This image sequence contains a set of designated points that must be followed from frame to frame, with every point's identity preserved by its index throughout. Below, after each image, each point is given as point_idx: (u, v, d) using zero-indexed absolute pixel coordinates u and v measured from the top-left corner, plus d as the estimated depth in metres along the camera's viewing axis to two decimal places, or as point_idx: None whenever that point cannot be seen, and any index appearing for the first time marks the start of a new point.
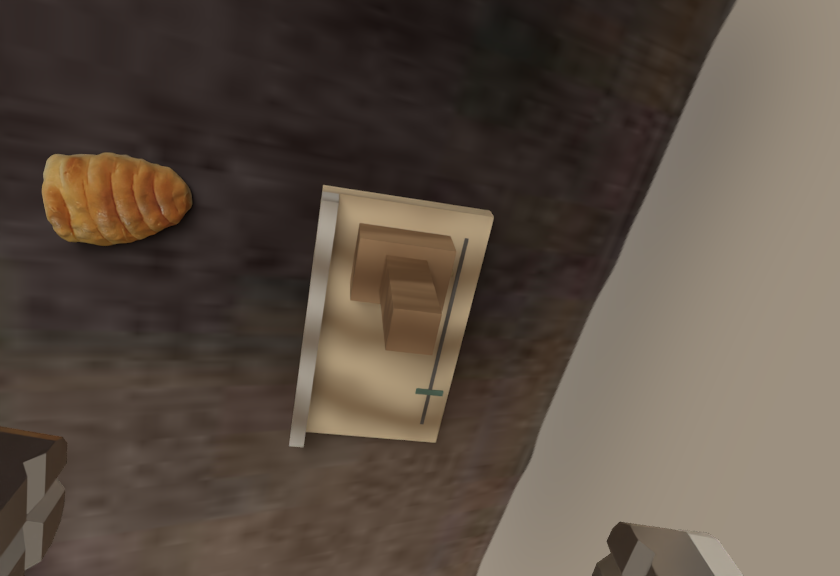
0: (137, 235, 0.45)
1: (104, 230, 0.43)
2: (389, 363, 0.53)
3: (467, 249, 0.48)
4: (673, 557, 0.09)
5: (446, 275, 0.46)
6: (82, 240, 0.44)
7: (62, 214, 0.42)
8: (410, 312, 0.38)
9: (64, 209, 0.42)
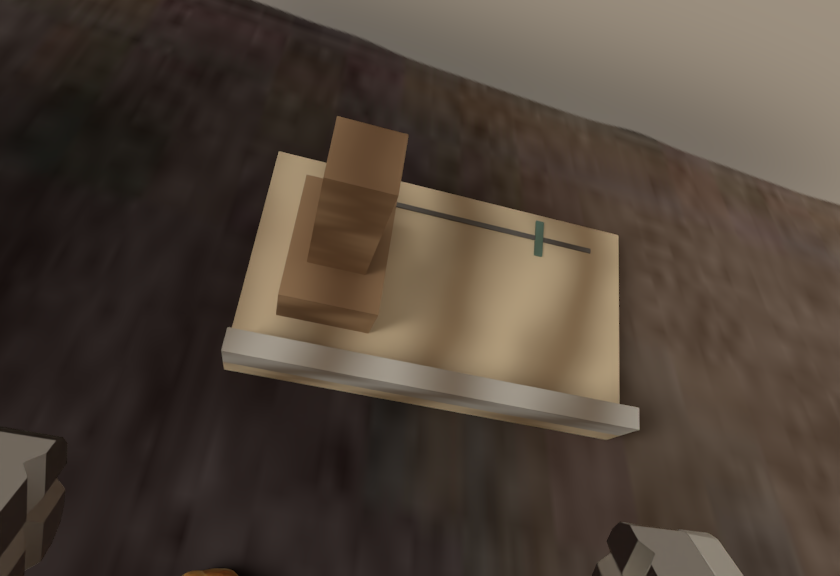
0: None
1: None
2: (496, 288, 0.37)
3: None
4: (673, 557, 0.09)
5: None
6: None
7: None
8: (331, 156, 0.25)
9: None
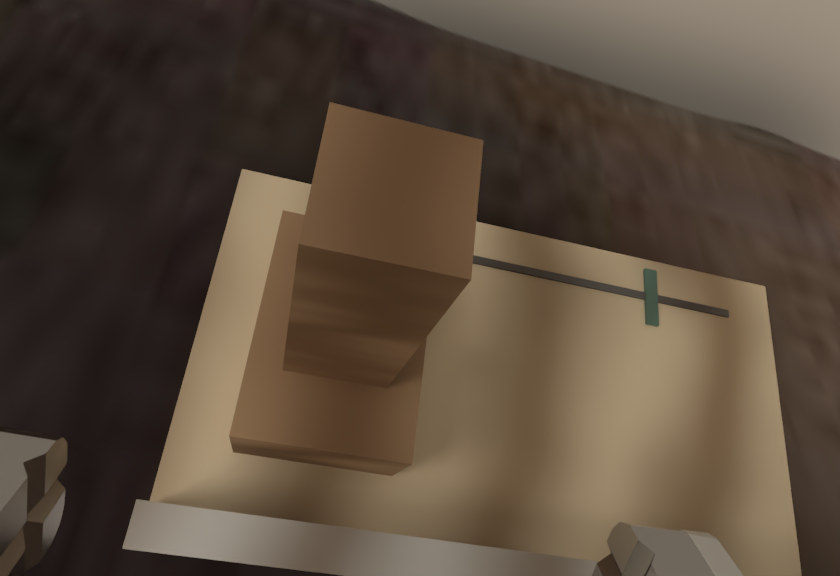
0: None
1: None
2: (593, 382, 0.23)
3: None
4: (673, 557, 0.09)
5: None
6: None
7: None
8: (316, 192, 0.11)
9: None
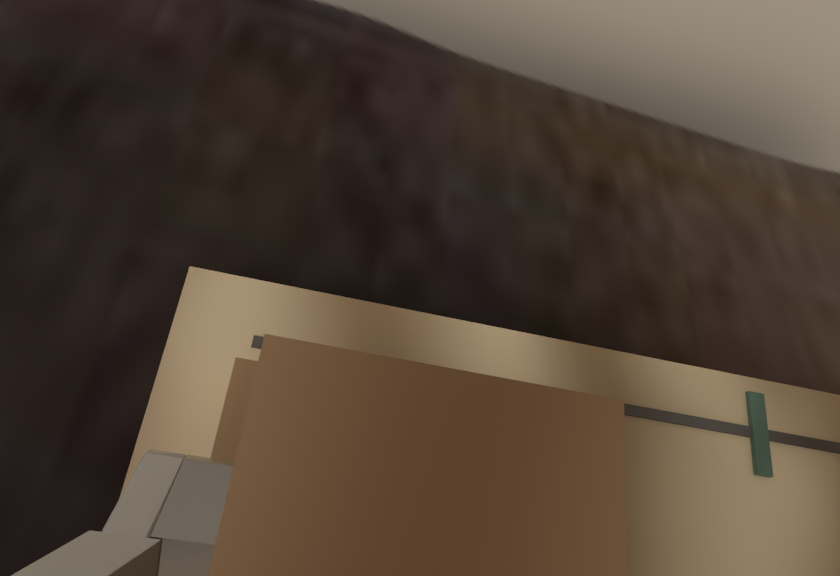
0: None
1: None
2: (689, 571, 0.16)
3: None
4: None
5: None
6: None
7: None
8: None
9: None
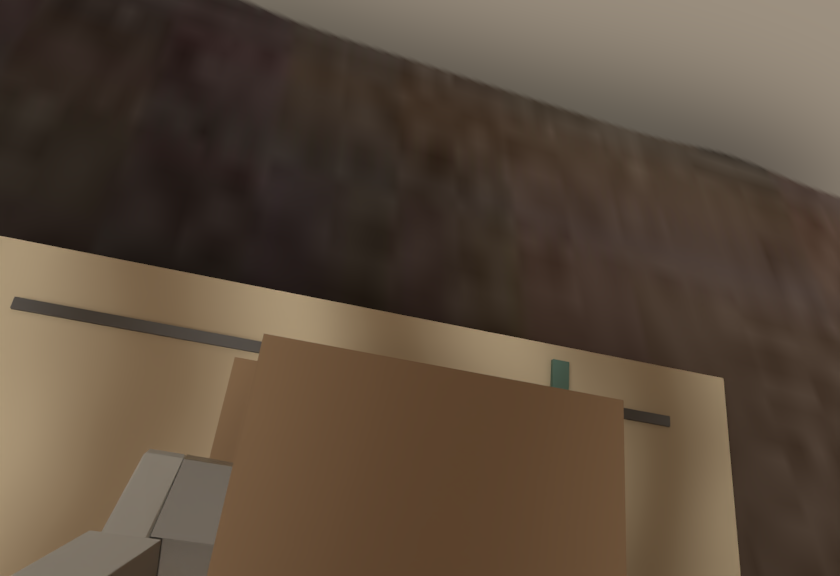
0: None
1: None
2: None
3: (55, 300, 0.16)
4: None
5: None
6: None
7: None
8: None
9: None
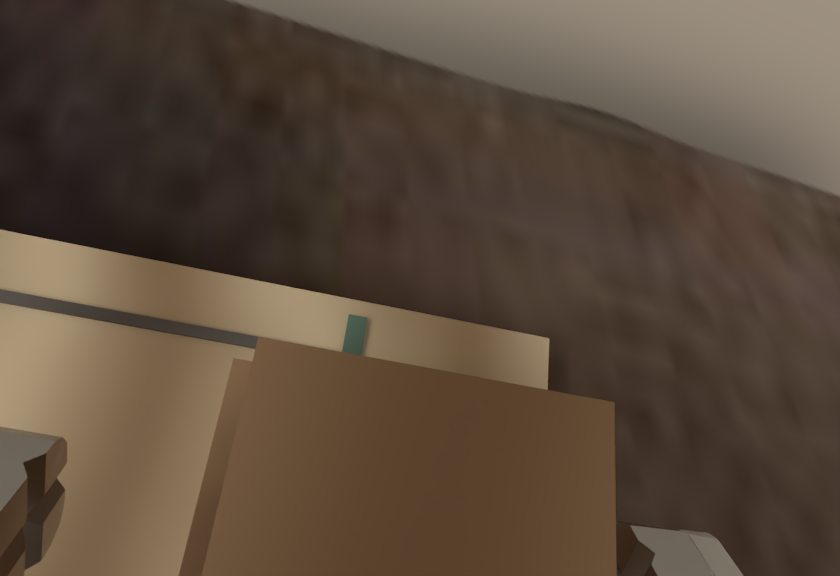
0: None
1: None
2: None
3: None
4: (673, 557, 0.09)
5: None
6: None
7: None
8: None
9: None
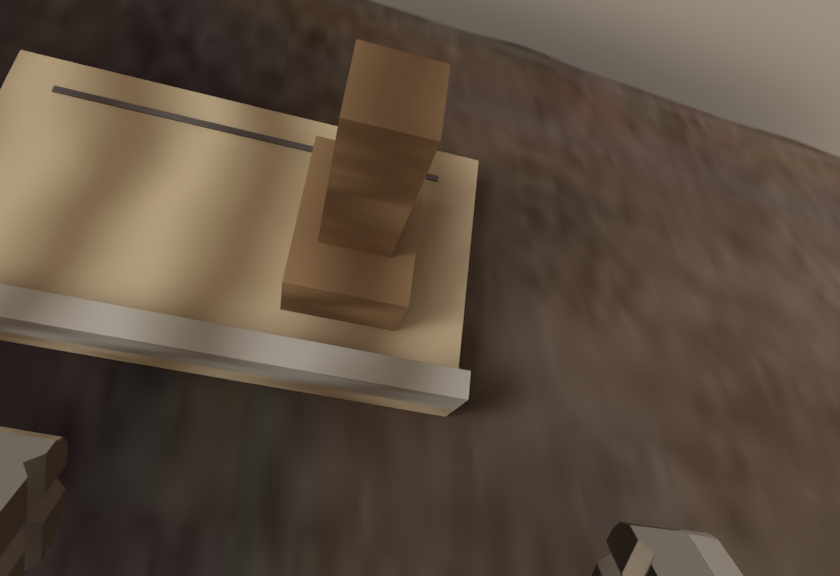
0: None
1: None
2: None
3: (76, 89, 0.28)
4: (673, 557, 0.09)
5: None
6: None
7: None
8: (349, 89, 0.18)
9: None
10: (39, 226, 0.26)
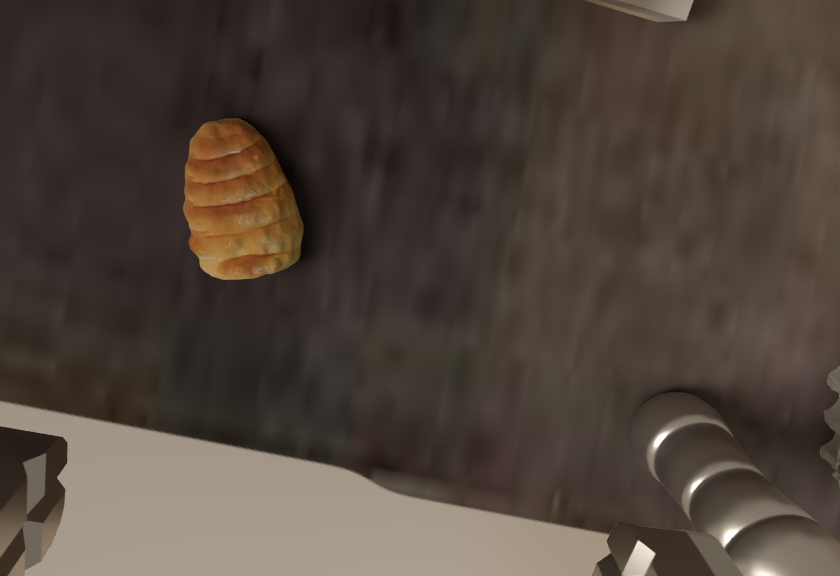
0: (275, 184, 0.36)
1: (263, 220, 0.36)
2: None
3: None
4: (673, 557, 0.09)
5: None
6: (288, 246, 0.37)
7: (247, 262, 0.37)
8: None
9: (242, 259, 0.37)
10: None
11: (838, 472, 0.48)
